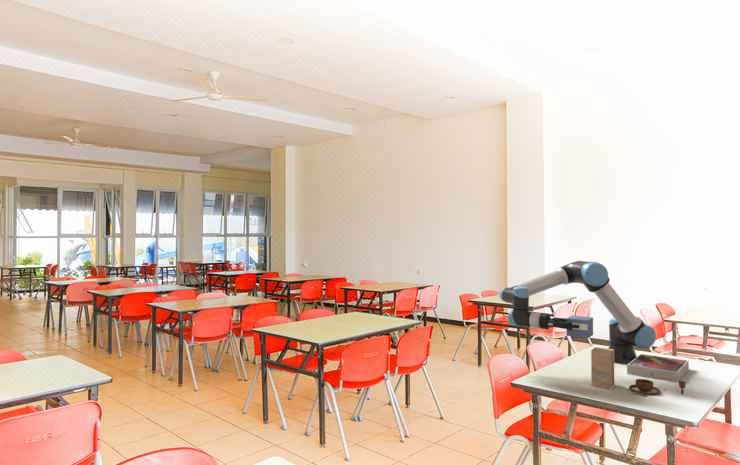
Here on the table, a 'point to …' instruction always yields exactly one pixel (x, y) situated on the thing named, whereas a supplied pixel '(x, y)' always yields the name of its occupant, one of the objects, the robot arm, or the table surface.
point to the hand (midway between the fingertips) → (590, 325)
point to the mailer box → (602, 367)
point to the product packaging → (658, 367)
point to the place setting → (649, 387)
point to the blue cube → (580, 320)
